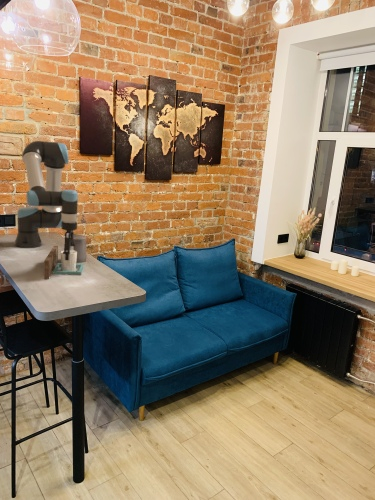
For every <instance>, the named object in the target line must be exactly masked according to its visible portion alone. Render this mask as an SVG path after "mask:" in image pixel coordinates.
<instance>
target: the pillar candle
mask: <svg viewBox="0 0 375 500" xmlns="http://www.w3.org/2000/svg"><path fill="white" fill-rule="evenodd" d="M73 236H74V244H75V246H73V250H75V251H77V260H76V264H80V263H84V262H86V261H87V236H86V235H83V234H74V235H73Z"/></svg>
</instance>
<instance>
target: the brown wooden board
mask: <svg viewBox="0 0 375 500" xmlns="http://www.w3.org/2000/svg"><path fill="white" fill-rule="evenodd" d="M43 263H44V264H43V267H44V268H43V270H44V271H43V273H44V274H43V275H44V276H43V277H44V278H43V279H44V280H49V279H50V278H49V277H51V276H52V274H53V271H54V269H55V267H56V265H57V263H59V247H58V245H54V246H53V247H52V248H51V249H50V252H49V253H48V255H47V256H46V258H45V259H44V262H43Z"/></svg>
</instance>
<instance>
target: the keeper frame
mask: <svg viewBox="0 0 375 500" xmlns="http://www.w3.org/2000/svg"><path fill="white" fill-rule="evenodd" d="M59 268H62V264H61V262H60V263H59V262H58V263H57V264H56V266H55V268H54V270H53V272H52V274H53V275H65V274H68V275H70V276H71V275H73V276H75V275H76V276H81V275H82V272H83V270H84V263H76V268H79V269H78V271H62V270H59Z"/></svg>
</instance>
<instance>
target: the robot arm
mask: <svg viewBox="0 0 375 500" xmlns="http://www.w3.org/2000/svg"><path fill="white" fill-rule="evenodd" d="M21 156H22V159H21V160H22V162H23V164H24V165H25V170H26V176H27V182H28V187H29V190H27V191H26V204H27V205H28V206H26V207H21V208H19V209H18V210H17V216H16V217H17V234H16V236H15V240H14V246H15V247H18V248H24V249H25V248H26V249H27V248H28V249H29V248H37V247H41V246H42V244H43V243H42V239H41V235H40V233H39V229H59V228H60V229H62V230H63V231H65V232H64V246H63V250H64V252H63V254H64V266H70V250H73V246H75V244H74V236H73V235H75V234H74V233H75V232H74V231H76V230H77V229H78V218H79V215H78V203H79V201H78V200H79V199H78V198H79V197H78V191H77V190H73V189H63V190H62V177H63V176H62V175H63V170H64V169H65V167H66V165H68V164H69V160H70V159H69V151H68V148H67V145H66V144H65V143H62V142H57V141H56V142H55V141H41V140H34V141H31V142H30V143H28V144H27V145H26V146H25V148H24V149H23V151H22V154H21ZM41 163H42V164H43V166H44V167H45V169H46V170H45V171H46V173H45V178H46V179H45V180H44V175H43V170H42V165H41ZM38 207H41V208H42V209H39V208H38Z"/></svg>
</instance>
